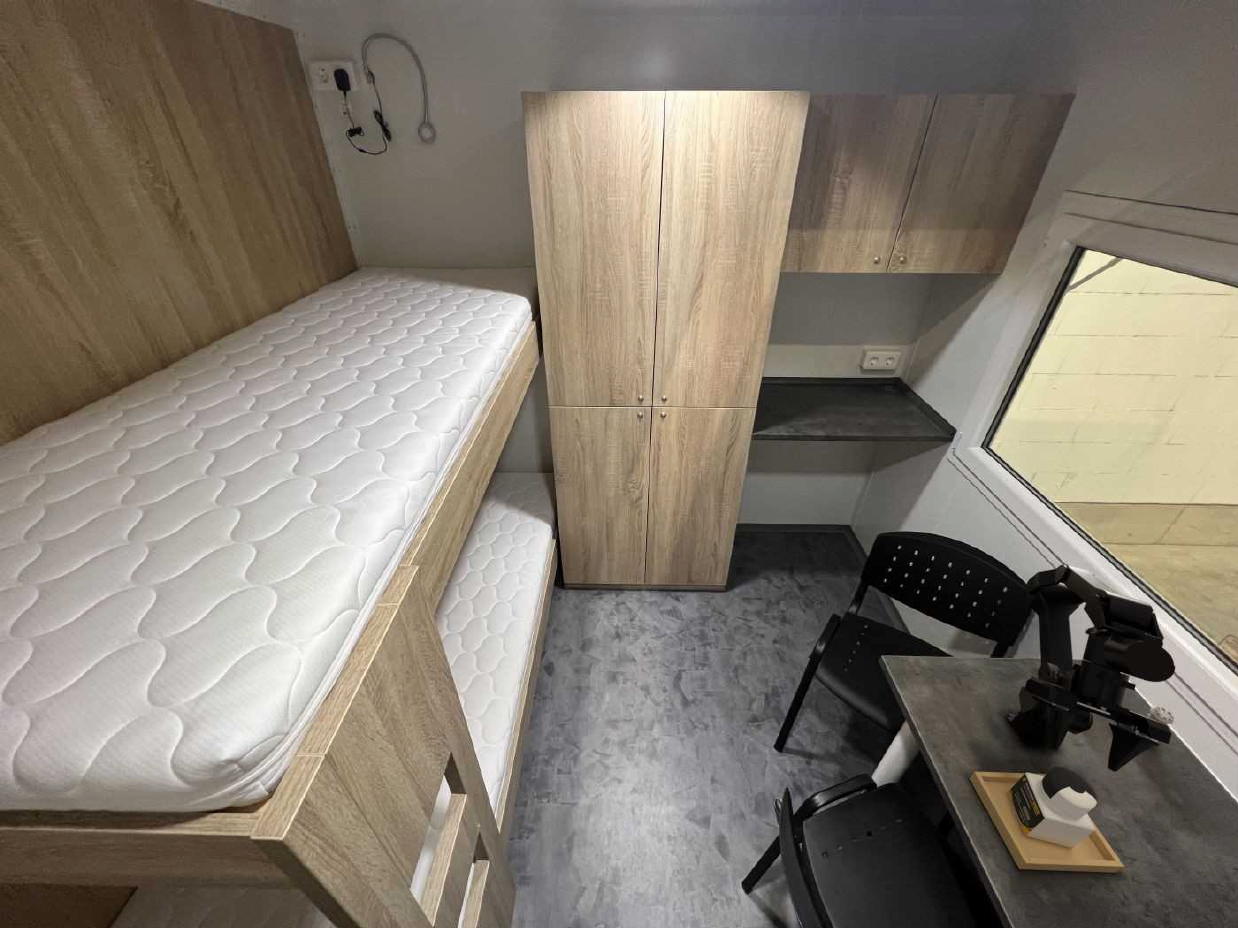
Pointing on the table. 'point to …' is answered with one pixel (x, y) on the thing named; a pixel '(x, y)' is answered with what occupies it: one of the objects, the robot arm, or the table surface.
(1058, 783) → the medicine bottle
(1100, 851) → the tray
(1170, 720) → the rook chess piece
